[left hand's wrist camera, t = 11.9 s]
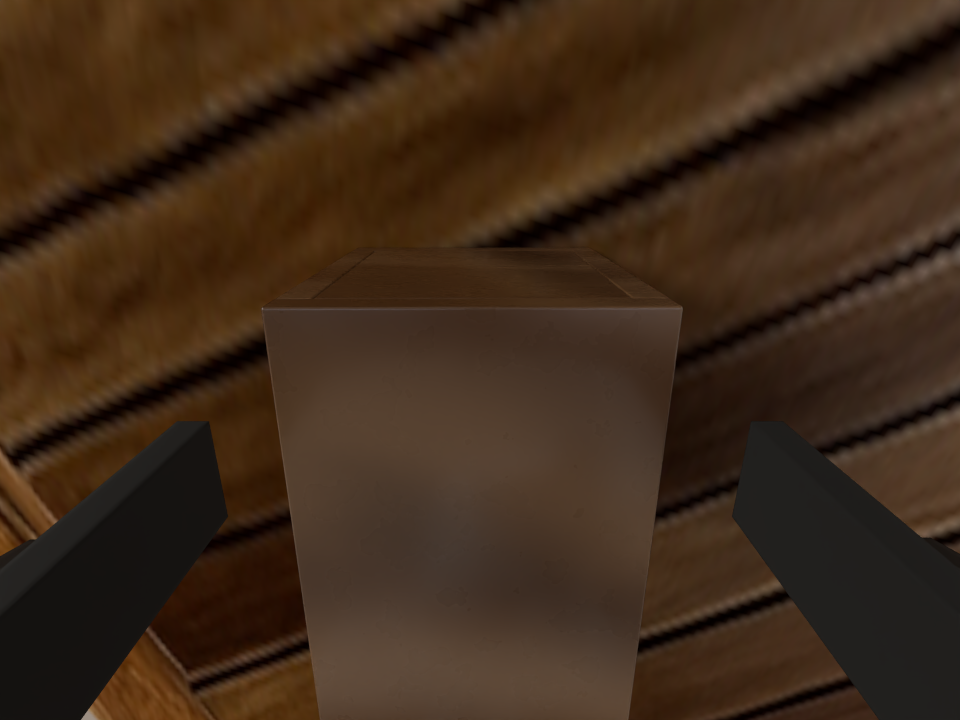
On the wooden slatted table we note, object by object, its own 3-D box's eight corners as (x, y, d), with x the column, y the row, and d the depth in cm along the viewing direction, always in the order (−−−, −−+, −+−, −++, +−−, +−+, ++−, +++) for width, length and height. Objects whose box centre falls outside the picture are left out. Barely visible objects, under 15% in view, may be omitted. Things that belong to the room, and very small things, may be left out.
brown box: (567, 577, 29) (618, 799, 19) (382, 578, 29) (330, 802, 19) (590, 247, 23) (684, 306, 13) (356, 247, 23) (259, 307, 13)
